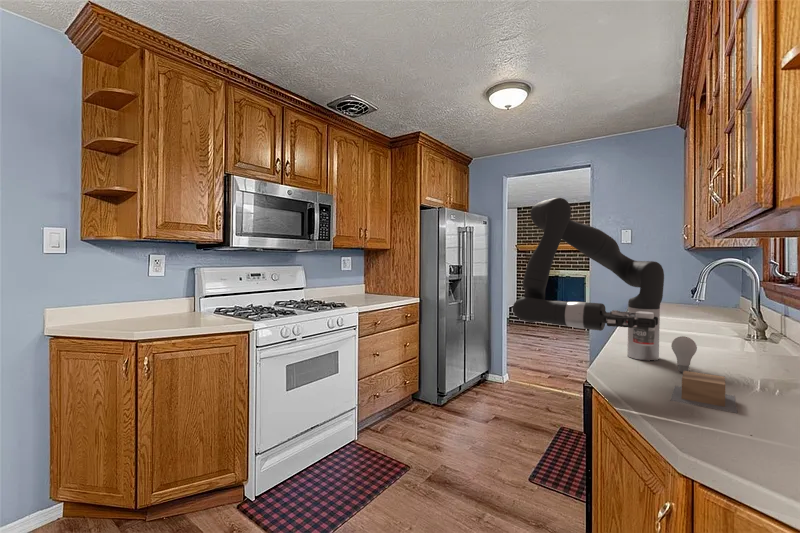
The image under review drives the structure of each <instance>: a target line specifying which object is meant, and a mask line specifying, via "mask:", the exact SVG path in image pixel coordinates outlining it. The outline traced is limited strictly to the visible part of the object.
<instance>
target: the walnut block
mask: <svg viewBox="0 0 800 533" xmlns="http://www.w3.org/2000/svg"><path fill="white" fill-rule="evenodd" d="M681 387H682V399H686V400H691V401H697V402H702V403H707V404H713V405H718V406H723V407H725V394H726V376H722V375H714V374H711V373H710V374H709V373H702V372H695V371H690V370H689V371H684V372H683V373H682V377H681Z"/></svg>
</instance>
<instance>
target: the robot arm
mask: <svg viewBox="0 0 800 533" xmlns="http://www.w3.org/2000/svg"><path fill="white" fill-rule="evenodd" d="M571 215H572V209H571V205H570V203H569V202H568V200H567V199H565V198H563V197H555V198H554V197H553V198H550V199H546V200H542V201H539V202H537V203H535V204H534V205H533V206H532V207H531V209H530V218H531V221H532V223H533V224H534V225H535V226H536V227H537V228H538V229H540V230H542V231H543V233H542V237H541V239H540V241H539V243H538V245H537V246H536V248H535V250H534V251H533V253H532V254H531V256H530V258H529V259H528V263H527V265H526V269H525V271H524V272H525V273H524V276H523V281H522V288H523V290H524V295H523V296H522V297H520V298H518V299H517V300H515V302H514V303H513V306H512V311H513V313H514V315H515V316H516V318H518V319H519V320H521V321H525V322H527V323H536V322H545V323H549V324H552V325H558V326H565V327H570V328H571V327H572V328H575V329H584V330H592V331H599V332H600V331H603V330H604V329H605V328H606V327H605V326H607V327H613V328H615V327H616V328H617V327H618V328H627V357H629V358H632V359H636V360H641V361H650V360H654V361H659V360H660V325H661V322H660V321H661V320H660V319H661V318H660V315H661V314H660V313H661V311H660V309H661V302H662V300H663V297H664V284H665V271H664V268H663V266H662V264H661V263H659V262H657V261H653V260H650V261H649V260H635V259H632V258H630V257H628V256H626V255H625V254H624V253H622V252H621V249H620V247H619V244H618V242H617V241H616V240H615V239H614V238H612V236H610V234H609V235H608V233H605V232H604V231H603V230H601V229H599V228H597V227H593V226H591V225H587V224H584V223H582V222H581V223H580V222H577V221H575V220H572V219H571ZM561 241H564V242H565V243H566V244H568V245H570V246H571V247H572V248H574V249H576V250H577V251H579V252H580V253H582V254H583V255H584V256H586V257H588V258H589V259H591V260H592V261H595V262H596V263H598V264H599V265H601V266H603V267H604V268H605V269H608V270H609V271H610V272H612V273H613V274H615V275H616V276H617V277H618V278H619V279H621V281H623V282H624V283H626V284H627V285H628V286H630V287H634V288H639V293H638V294H637V295H635V296H634V297H631V298H629V299H628V303H627V304H628V306H627V307H628V308H627V310H628V311H620V310H616V309H615V310H614V309H613V310H611V311H610V312H608V311H606V306H605V304H604V303H600V302H588V301H587V302H586V301H561V300H548V299H546V288H547V286H548V285H547V284H548V281H549V276H550V272H551V269H552V266H553V261H554V259H555V256H556V253H557V251H558V248H559V246H560V244H561ZM638 311H643V312H652V313H654V318H653V319H648V318H638V317H636V312H638ZM637 325H638V327H647V328H655V336H654V345H653V346H641V345H637V344H634V343H633V327H637ZM658 359H659V360H658Z"/></svg>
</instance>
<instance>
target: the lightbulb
mask: <svg viewBox="0 0 800 533" xmlns="http://www.w3.org/2000/svg"><path fill="white" fill-rule="evenodd" d="M671 350H672V352H673V354H674V355H675V358H676V363H677V366H678V367H677V369H678V371H679V372H680V373H681V374H683V372H684V371H690V366H691V362H692V359H693V357H694V355H695V354H696V353H697V350H698V346H697V344H696V342H695V341H694V340H693V339H692V338H691V337H688V336H683V335H681V336H677V337H675V338H674V339H673V340H672V342H671Z"/></svg>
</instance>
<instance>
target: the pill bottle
mask: <svg viewBox="0 0 800 533" xmlns="http://www.w3.org/2000/svg"><path fill="white" fill-rule="evenodd" d="M636 317H638V318H648V319H653V318H654V313H652V312H643V311H638V312H636ZM654 336H655V328H647V327H638V325H637V327H633V343H634V344H637V345H641V346H653V345H654Z"/></svg>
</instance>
